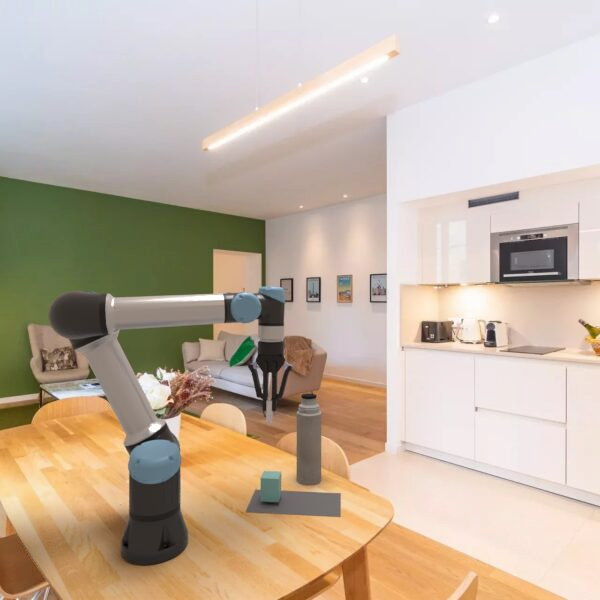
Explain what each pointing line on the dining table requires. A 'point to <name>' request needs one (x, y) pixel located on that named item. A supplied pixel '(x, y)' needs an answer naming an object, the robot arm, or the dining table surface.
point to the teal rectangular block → (271, 486)
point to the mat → (298, 504)
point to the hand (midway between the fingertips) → (269, 422)
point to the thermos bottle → (309, 441)
